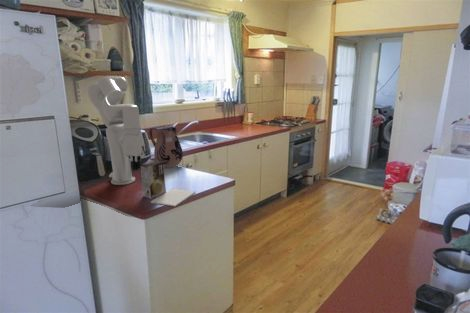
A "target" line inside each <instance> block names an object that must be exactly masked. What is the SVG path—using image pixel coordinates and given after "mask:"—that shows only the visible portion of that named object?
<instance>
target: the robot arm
mask: <svg viewBox="0 0 470 313" xmlns="http://www.w3.org/2000/svg"><path fill="white" fill-rule="evenodd" d="M128 89H129V88H128V81H127V80H126V78H125V77H123V76H119V75H117V76H104V77H101V78H100V79H99V80H98V82H93V83H90V84H89V85H88V86H87V95H88V98H89V100H90V102H91V104H92V105H93V106H94V107H95V109H96V110H97V111H98V113H99V115H100V118H101V120H102V123H103V124H104V125H105V126H106V129H105V134H106V138H107V142H108V146H109V151H110V158H111V167H112V172H110V174H109V175H108V177H109V178H112V179H111V180H110V182H111V185H115V186H116V185H117V186H123V185H130V184H132V183H134V182H135V181H136V177H135V176H133V174H132V169H133V170H136V171H137V170H139V169H140V164H141V160H142V159H144V158H146V144H145V139H144V136H143V134H142V130H141V129H142V128H141V121H140V120H141V119H140V112H139V110H140V109H139V106H137V104H133V103H121V101H122V99H123V98H124V94H125V93H126V92H127V90H128ZM131 162H132V164H131ZM140 170H141V169H140Z"/></svg>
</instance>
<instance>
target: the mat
mask: <svg viewBox="0 0 470 313" xmlns="http://www.w3.org/2000/svg"><path fill="white" fill-rule="evenodd" d="M196 192H197V191H194V190H188V189H187V190H186V189H179V188H171V189H170V190H168V191H166V193H164V194H163V195H160V196H157V197H155V198H153V199H152V200H151V201H150V203H151V204H155V203H156V205H161V204H162V206H168V207H169V206H170V207H174V208H175V207H177V206H178V205H180V204H182V203H183V202H184V201H186V200H187V199H188V198H190V197H191V196H193V195H194V194H196Z"/></svg>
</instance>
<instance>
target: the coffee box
mask: <svg viewBox="0 0 470 313" xmlns="http://www.w3.org/2000/svg"><path fill="white" fill-rule="evenodd" d="M164 168H165V167H163V162H160V161H157V160H155V159H154V160H150V161H147V162H143V163H140V177H141V186H142V193H143V197H145V198H148V199H150V200H153V199H156V198H158V197H159V196H161V195H163V194H164V193H166V192H167V188H166V181H165V180H166V178H165V170H164Z"/></svg>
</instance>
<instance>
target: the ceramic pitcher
mask: <svg viewBox="0 0 470 313" xmlns="http://www.w3.org/2000/svg"><path fill="white" fill-rule="evenodd" d="M153 130H155V131H156V132H157V135H156V140H155V138H154V135H153ZM148 135H149V139H150V140H151V141H150V142H151V143H152V146H153V147H154V150H153V153H154V154H153V156H154V160H157V161H160V162H163V168H173V167H177V166H178V165H179V164H180V163H181V162H182V161H183V155H184V153H183V147H182V146H181V145H182V144H181V143H180V139H179V137H178V135H177V127H176V126H174V125H172V124H171V125H161V126H152V127H151V128H150V129H149V130H148Z"/></svg>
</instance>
